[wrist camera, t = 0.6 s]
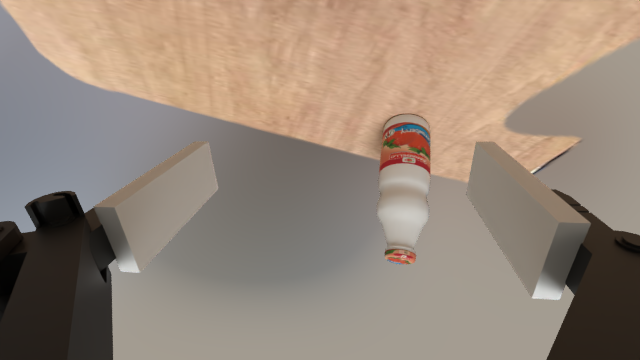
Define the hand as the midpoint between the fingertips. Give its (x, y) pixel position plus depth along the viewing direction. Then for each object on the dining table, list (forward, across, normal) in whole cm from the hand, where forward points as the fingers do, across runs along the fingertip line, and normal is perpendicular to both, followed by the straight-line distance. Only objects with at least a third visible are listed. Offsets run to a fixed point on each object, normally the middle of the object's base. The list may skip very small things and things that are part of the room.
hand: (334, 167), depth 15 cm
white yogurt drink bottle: (+50, +10, -12) cm, 52 cm away
